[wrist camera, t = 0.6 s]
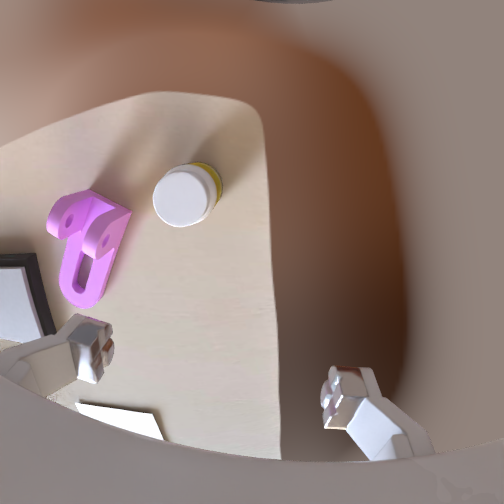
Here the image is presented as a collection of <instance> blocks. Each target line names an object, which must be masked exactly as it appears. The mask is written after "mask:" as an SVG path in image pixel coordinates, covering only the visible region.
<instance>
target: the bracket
mask: <svg viewBox="0 0 504 504" xmlns="http://www.w3.org/2000/svg"><path fill="white" fill-rule="evenodd" d="M131 213H132V211H131V210H129V209H127V208H125V207H123V206H121V205H119V204H117V203H115V202H113V201H111V200H109V199H107V198H105V197H103V196H101V195H99V194H97V193H95V192H93V191H91V190H89V189H88V190H84V191H80V192H77V193H73V194H70V195H67V196H63V197H61V198H60V199H59V200H58V201H57V202H56V203H55V204H54V206H53V207H52V209H51V211H50V213H49V216H48V219H47V231H48V232H49V233H51V234H52V235H54V236H56V237H57V238H59V239H61V240H63V239H65V238H67V237H68V241H67V245H66V249H65V253H64V257H63V261H62V265H61V269H60V274H59V285H60V289H61V291H62V293H63V295H64V296H65V298H66V299H67V300H68V301H69V302H70V303H71V304H73V305H74V306H76V307H79V308H83V309H86V308H90V307H92V306H94V305H95V304H96V303H97V302H98V301H99V300H100V298H101V297H102V296H103V293H104V290H105V287H106V284H107V281H108V278H109V274H110V271H111V268H112V265H113V262H114V259H115V257H116V254H117V251H118V248H119V245H120V242H121V240H122V237H123V234H124V231H125V229H126V226H127V224H128V221H129V218H130V216H131ZM84 253H85V254H87V255H89V256H90V257H92V258H93V264H92V267H91V271H90V274H89V278H88V281H87V285H86V289H84V288H82V287H80V285H79V284H78V281H77V278H78V274H79V270H80V266H81V263H82V259H83V255H84Z"/></svg>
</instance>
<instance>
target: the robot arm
mask: <svg viewBox="0 0 504 504" xmlns="http://www.w3.org/2000/svg"><path fill="white" fill-rule="evenodd" d="M112 333H113V330H112V325H111V324H109V323H106V322H103V321H100V320H97V319H94V318H91V317H87V316H84V315H81V314H78V313H77V314H74V315H73V316H72V317H71V318H70V319H69V320H68V321H67V322H66V324H65V325H64V326H63V327H62V328H61V329H60V330H59V331H58V332H57V333H56V334H55V335H52V334H51V335H48V336H45V337H41V338H38V339H35V340H32V341H29V342H26V343H23V344H20V345H17V346H14V347H10V348H7V349H4V350H3V351H2V352H1V353H0V504H504V439H498V440H494V441H490V442H487V443H483V444H479V445H476V446H471V447H467V448H463V449H457V450H453V451H447V452H442V453H437V454H436V453H435V451H434V448H433V445H432V443H431V441H430V438H429V435H428V433H427V431H426V430H425V429H424V428H422V427H421V426H420V425H419V424H417V423H416V422H415V421H414V420H412V419H411V418H410V417H409V416H407V415H406V414H405V413H404V412H403V411H401V410H400V409H399V408H398V407H397V406H395V405H394V404H393V403H392V402H391V401H389V400H388V399H387V398H383V397H382V395H381V392H380V390H379V387H378V384H377V381H376V379H375V376H374V373H373V371H372V369H371V368H362V367H358V368H356V367H342V366H332V367H331V369H330V371H329V373H328V375H329V379H328V380H327V381H325V382H324V384H323V387H322V390H321V399H320V401H321V406H322V407H323V408H324V409H325V411H324V412H323V414H322V415H323V421H324V428H332V429H333V428H334V429H346V431H347V432H348V433H349V435H350V436H351V437H352V439H353V440H354V441H355V442H356V444H357V445H358V446H359V447H360V448H361V450H362V451H363V452H364V453H365V454H366V455H367V457H368V458H369V459H370V461H356V462H309V461H290V460H277V459H266V458H257V457H248V456H241V455H234V454H227V453H221V452H215V451H210V450H204V449H199V448H194V447H190V446H185V445H181V444H176V443H172V442H168V441H164V440H160V439H156V438H153V437H149V436H145V435H142V434H139V433H135V432H132V431H129V430H126V429H123V428H119V427H116V426H113V425H111V424H108V423H105V422H102V421H99V420H97V419H94V418H91V417H89V416H86V415H84V414H81V413H79V412H76V411H74V410H71V409H69V408H67V407H64V406H62V405H60V404H57V403H55V402H53V401H51V400H49V399H47V398H45V397H46V396H48V395H50V394H52V393H54V392H55V391H57V390H59V389H61V388H62V387H64V386H66V385H68V384H70V383H71V382H73V381H75V380H77V379H78V378H80V379H83V380H86V381H89V382H92V383H95V384H97V383H98V382H99V380H100V379H101V377H102V375H103V374H104V369H103V368H104V367H106V366H108V365H109V364H110V362H111V361H112V358H113V354H114V342H113V341H112V339H111V338H110V336H111V335H112Z"/></svg>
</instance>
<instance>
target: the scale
mask: <svg viewBox="0 0 504 504" xmlns="http://www.w3.org/2000/svg"><path fill="white" fill-rule="evenodd" d="M56 333H57V332H56V329H55V326H54V323H53V319H52V316H51V313H50V309H49V306H48V302H47V299H46V295H45V291H44V287H43V283H42V279H41V275H40V271H39V266H38V262H37V257H36V253H25V254H0V339H5V340H10V341H15V342H21V343H26V342H29V341H32V340H35V339H38V338H41V337H45V336H48V335H51V334H52V335H55V334H56Z"/></svg>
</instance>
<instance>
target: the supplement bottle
mask: <svg viewBox="0 0 504 504" xmlns="http://www.w3.org/2000/svg"><path fill="white" fill-rule="evenodd" d="M222 191H223V183H222V179H221V176H220V174H219V173H218V172H217V170H216V169H215V168H213V167H212V166H210V165H208V164H206V163H202V162H195V163H188V164H183V165H179V166H176V167H174V168H172V169H171V170H169V171H168V172H167V173H166V174H165V175H164V176H163V178H162V179H161V180H160V181H159V182H158V184H157V185H156V187H155V190H154V193H153V204H154V208H155V210H156V212H157V214H158V216H159V217H160V218H161V219H162V220H163V221H164V222H166V223H168V224H170V225H172V226H176V227H185V226H189V225H192V224H196V223H198V222H200V221H202V220H204V219H205V218H206V217H207V216H208V215H209V214H210V213H211V211H212V210H213V209H214V207H215V205H216V204H217V202H218V201H219V199H220V197H221V195H222Z"/></svg>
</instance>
